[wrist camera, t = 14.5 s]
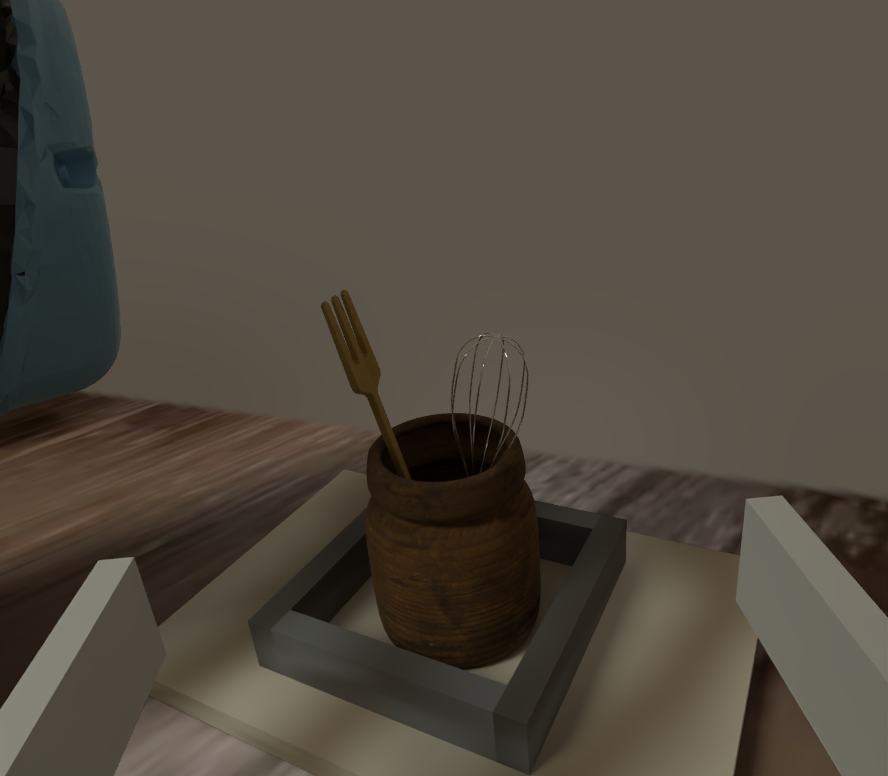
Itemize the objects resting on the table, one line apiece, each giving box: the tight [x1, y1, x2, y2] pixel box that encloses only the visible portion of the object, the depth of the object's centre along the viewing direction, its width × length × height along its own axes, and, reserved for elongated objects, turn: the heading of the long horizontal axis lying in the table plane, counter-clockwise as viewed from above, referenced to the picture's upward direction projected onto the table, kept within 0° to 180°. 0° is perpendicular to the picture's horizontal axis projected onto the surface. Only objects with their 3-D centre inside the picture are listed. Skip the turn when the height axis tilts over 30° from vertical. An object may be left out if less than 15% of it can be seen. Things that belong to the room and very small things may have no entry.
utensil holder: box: [321, 290, 541, 669], centre depth 23 cm, size 6×6×12 cm
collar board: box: [149, 470, 759, 776], centre depth 26 cm, size 20×14×3 cm
